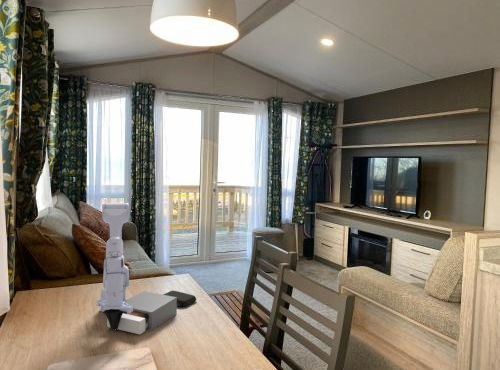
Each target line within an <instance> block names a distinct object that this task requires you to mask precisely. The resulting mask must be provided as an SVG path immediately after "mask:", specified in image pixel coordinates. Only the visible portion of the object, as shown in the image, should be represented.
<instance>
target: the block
mask: <svg viewBox="0 0 500 370" xmlns="http://www.w3.org/2000/svg"><path fill="white" fill-rule="evenodd" d="M127 314H128V315H133V316H137V317H142V318H145V313H143V312H138V311H133V312H131V313H127Z"/></svg>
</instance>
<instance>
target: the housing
mask: <svg viewBox="0 0 500 370" xmlns="http://www.w3.org/2000/svg"><path fill="white" fill-rule="evenodd" d="M123 302H125V303H127V304H129V305H131V306H133V311H138V312H143V313H147V314H149V327H147V328H146V329H145V330H147V331H154V330H155V329H157V328H158V327H159V326H161V325H163V324H164V323H165V322H167V321H168V320H170V319H172V318H173V317H174V316H176V315H177V313H178V311H177V310H178V309H177V308H178V306H177V297H172V296H167V295H163V294H160V293H155V292H151V291H145V290H144V291H141V292H139V293H137V294H135V295H133V296H131V297H129V298H126V300H125V301H123ZM124 314H127V312H125V311H124Z"/></svg>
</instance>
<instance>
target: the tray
mask: <svg viewBox="0 0 500 370" xmlns="http://www.w3.org/2000/svg"><path fill="white" fill-rule="evenodd" d="M106 327H107V328H111V327H110V324H109V321H108V319H107V318H106ZM147 327H149V314H147V313H145V318H142V317H137V316H133V315H128V314H124V313H123V314H122V316H121V319H120V322H119V326H118V329H117V330H120V331H125V332H126V333H127V332H128V333H132V334H137V335H141V334H143V333H145V332H146V330H147V329H146V328H147Z"/></svg>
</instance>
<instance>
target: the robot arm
mask: <svg viewBox="0 0 500 370" xmlns="http://www.w3.org/2000/svg"><path fill="white" fill-rule="evenodd" d="M101 216H102V220H103V222H104V223H105V224H108V227H109V239H108V240H106V244H105V248H106V249H105V259H104V261H103V276H102V286H103V287H102V290H101V292H100V299H98V300H96V303H95V304H96V307H97V308H98V307H100V308H99V310H98V311H99V312H102V313H103V314H104V315H105V316H106V320H107V319H108V321H109V324H110V327H109V328H110V330H111V331H116V330H119V329H118V326H119V322H120V319H121V316H122V314H123V313H124V311H125V312H127V313H131V312H133V306H131V305H129V304H127V303H125V302H123V301H125V300H127V288H128V287H129V286H130V273H129V271H130V270H129V269H130V268H129V267H128V266H127V265H125V257H124V240H123V239H122V238H123V236H122V234H123V232H122V231H123V225H124V224H125V223H128V222H129V218H130V205H129V203H128V202H103V204H102V206H101Z"/></svg>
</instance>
